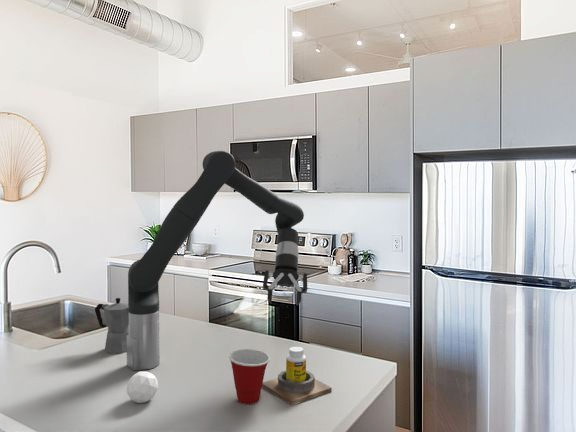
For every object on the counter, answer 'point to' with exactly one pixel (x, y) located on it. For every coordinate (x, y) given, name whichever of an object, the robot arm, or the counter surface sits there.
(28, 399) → the counter surface
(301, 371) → the supplement bottle
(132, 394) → the geometric ball
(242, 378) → the plastic cup
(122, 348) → the coffeepot
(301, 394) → the ring collar
